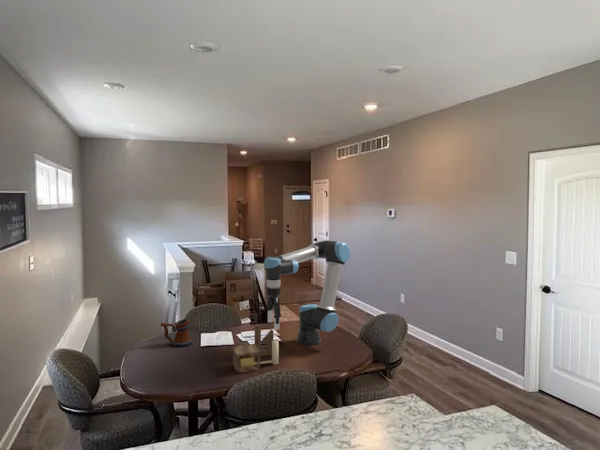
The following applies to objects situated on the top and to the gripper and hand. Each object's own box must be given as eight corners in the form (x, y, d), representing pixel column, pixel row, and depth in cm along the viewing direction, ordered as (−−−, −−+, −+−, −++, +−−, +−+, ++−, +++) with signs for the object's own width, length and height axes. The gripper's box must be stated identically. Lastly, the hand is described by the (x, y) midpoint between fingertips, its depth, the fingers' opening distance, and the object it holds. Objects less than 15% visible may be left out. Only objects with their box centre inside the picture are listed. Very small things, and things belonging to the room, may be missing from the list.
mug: (160, 349, 250) (160, 324, 249) (160, 343, 261) (160, 319, 260) (192, 346, 255) (192, 321, 254) (191, 340, 266) (190, 316, 265)
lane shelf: (255, 361, 232) (255, 343, 232) (261, 369, 221) (261, 351, 221) (231, 364, 228) (231, 346, 227) (236, 373, 217) (236, 354, 216)
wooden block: (273, 355, 242) (273, 324, 241) (255, 357, 238) (255, 326, 237) (271, 353, 245) (271, 322, 244) (253, 355, 242) (253, 324, 240)
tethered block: (276, 361, 234) (276, 339, 233) (280, 365, 228) (280, 343, 227) (238, 366, 226) (238, 344, 225) (240, 370, 220) (240, 347, 220)
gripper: (261, 282, 238) (261, 319, 240) (273, 292, 215) (272, 333, 216) (273, 282, 241) (273, 318, 242) (287, 291, 217) (286, 331, 219)
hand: (273, 325), depth 229 cm, fingers open, 13 cm apart
